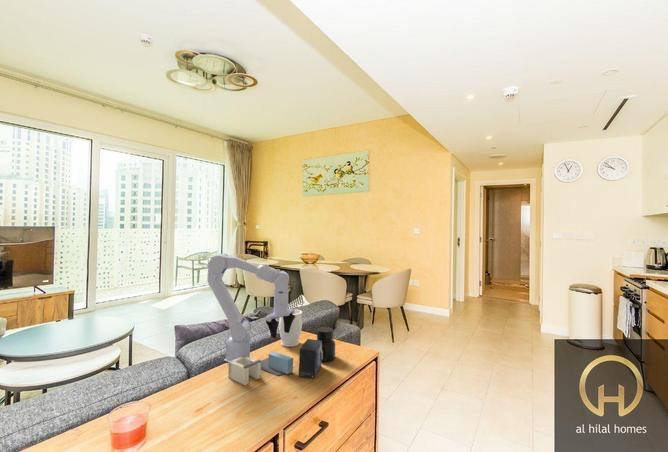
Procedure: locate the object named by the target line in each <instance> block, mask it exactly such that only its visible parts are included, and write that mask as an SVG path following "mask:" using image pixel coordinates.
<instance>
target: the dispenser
mask: <svg viewBox="0 0 668 452" xmlns="http://www.w3.org/2000/svg"><path fill="white" fill-rule="evenodd" d="M252 358H253V357H251V358H249V357H247V356H242V357H239V358H237V359H234V360H232V361H230V362H228V370H227V371H228V375H227V377H228V378H229V379H231V380H233V381H235V382H237V383H240V384H242V385H244V386H246V385H248V384H249V377H253V379H254V378H255V379H256V380H257V379H260V378H261V377H262V376H261V372H262V371H261V370H262V369H261V361H262V360H261V359H256V358H254V359H252Z"/></svg>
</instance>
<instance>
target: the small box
mask: <svg viewBox="0 0 668 452" xmlns="http://www.w3.org/2000/svg"><path fill="white" fill-rule="evenodd" d="M321 357H322V341H320V340H317V339H312V338H307V339H306V340H305V341H304V342H303V344H302V345H301V346H300V347H299V359H298V361H299V362H298V377H301V378H307V379H308V378H309V379H315V378H316V376H317V374H318V373H319V371H320V369H321V368H322V362H321Z"/></svg>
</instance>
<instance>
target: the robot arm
mask: <svg viewBox="0 0 668 452" xmlns="http://www.w3.org/2000/svg"><path fill="white" fill-rule="evenodd" d="M206 268H207V279H206V280H207V283H208V285H209V287H210V289H211V291H212V292H213V294H214V296H215V299H216V300H217V303H218V304H219V305H220V308H221V310H222V311H223V313H224V314H225V318H227V321H228V328H229V330H230V337H229V338H228V339H227V341H226V344H225V358H224V359H223V361H224V362H226V363H229V362H230V361H232V360H234V359H237V358H239V357H242V356H247V357H249V358H252V359H255V358H253V357H251V336H250V334H249V332H250V331H251V329H252V323H251V322H250V320H248V319H247V318H246V317H245V316H244V314H242V313H241V312H240V310H239V308H238V307H237V305H236V303H235V301H234V299H233V297H232V295H231V293H230V291H229V289H228V287H227V285H226V284H225V282H224V280H223V278H224V276H225V273H226V270H228V269H229V270H230V269H240V270H243V271H246V272H249V273H253V274H255V276H256V278H258V279H260V280H262V281H265V282H268V283H271V284H274V290H273V293H274V294H273V312H271V313H270V314H267V315H266V316H265V323H266V324H267V327H268V330H269V334H270V336H271V338H272V339H276V338H277V336H278V335H277V334H278V333H277V332H278V328H279V321H278V320H276V319H280V317H283V320H284V332H286V333H289V331H290V328H291V324H292V322H293V320H294V318H295V315H293V314H294V312H295V309H296V308H289V283H290V275H289V273H287V272H286V271H285V270H280V269H279V268H277V269H275V268H274V267H270V265H269V264H267V263H266V264H260V265H256V264H254V263H252V262H250V261H247V260H245V259H243V258H240V257H237V256H235V255H232V254H227V253H224V252H223V253H219V254H217V255H214V256H212V257H211V258H210V260H209V262H208V264H207V266H206Z"/></svg>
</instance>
